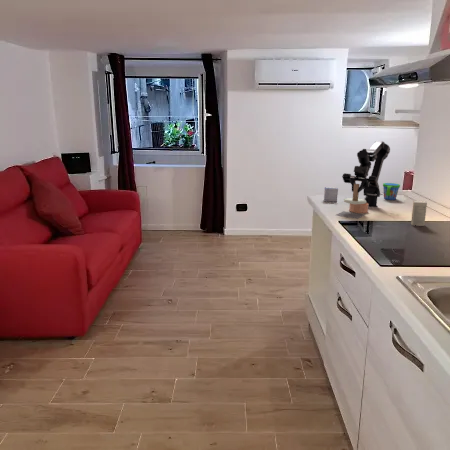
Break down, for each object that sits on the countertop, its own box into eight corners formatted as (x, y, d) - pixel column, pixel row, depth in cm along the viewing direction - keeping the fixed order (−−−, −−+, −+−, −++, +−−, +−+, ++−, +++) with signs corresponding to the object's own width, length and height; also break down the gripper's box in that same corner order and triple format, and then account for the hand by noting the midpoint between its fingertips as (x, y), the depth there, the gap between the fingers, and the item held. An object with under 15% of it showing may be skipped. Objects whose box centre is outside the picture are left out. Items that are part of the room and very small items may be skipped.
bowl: (364, 210, 256) (365, 201, 255) (369, 214, 246) (370, 205, 245) (347, 209, 256) (348, 201, 255) (352, 213, 246) (352, 204, 245)
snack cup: (385, 196, 300) (387, 181, 297) (401, 198, 294) (403, 183, 291) (377, 199, 288) (379, 184, 285) (393, 202, 282) (395, 186, 279)
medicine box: (336, 200, 282) (337, 187, 280) (337, 201, 278) (338, 188, 276) (323, 200, 283) (324, 186, 281) (324, 201, 278) (325, 188, 276)
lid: (362, 199, 249) (364, 182, 246) (369, 204, 238) (371, 186, 235) (341, 199, 249) (343, 182, 247) (347, 204, 238) (348, 186, 235)
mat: (343, 212, 249) (343, 211, 249) (365, 215, 242) (365, 214, 242) (335, 216, 239) (335, 215, 239) (357, 219, 232) (357, 218, 232)
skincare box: (423, 224, 226) (426, 201, 223) (424, 226, 222) (427, 203, 219) (410, 223, 228) (413, 200, 225) (410, 225, 224) (413, 201, 221)
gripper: (344, 158, 246) (335, 181, 240) (378, 161, 235) (369, 185, 230) (348, 171, 254) (340, 192, 248) (381, 174, 244) (372, 197, 238)
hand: (355, 191), depth 241 cm, fingers closed on lid, 3 cm apart
